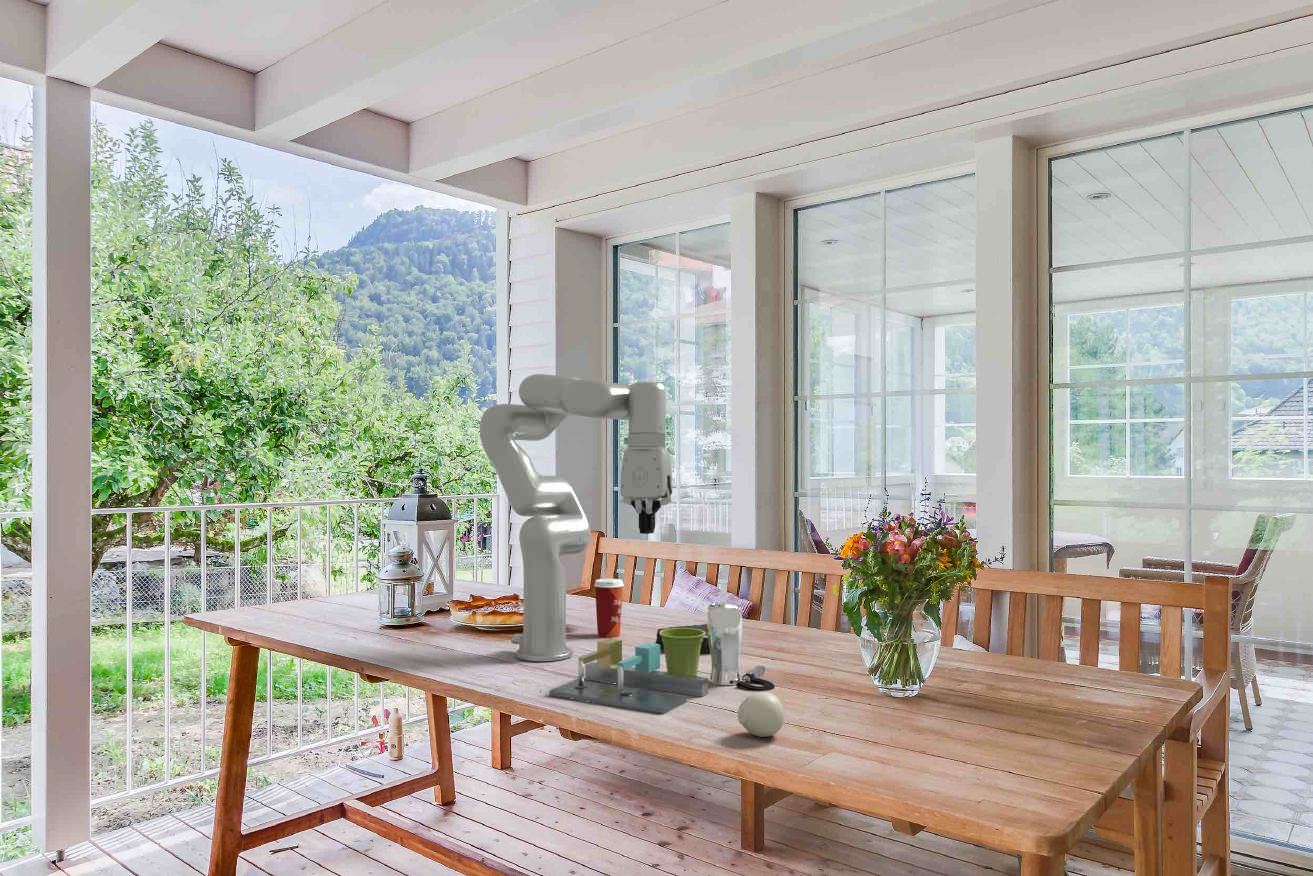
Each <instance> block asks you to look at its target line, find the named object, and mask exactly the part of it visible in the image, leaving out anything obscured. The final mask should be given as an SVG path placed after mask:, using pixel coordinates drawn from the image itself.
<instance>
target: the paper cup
mask: <svg viewBox="0 0 1313 876" xmlns="http://www.w3.org/2000/svg"><path fill="white" fill-rule="evenodd" d="M594 583H595V584H594V585H593V586H594V589H595V590H594V593H595V594H594V595H595V608H596V609H595V611H596V627H597V628H596V629H597V637H598V636H599V638H602V637H605V638H604V639H613V638H612V637H615V638H619V637H620V636H619V635H621V628H622V627H621V624H622V609H623V607H622V606H623V592H624V586H625V584H624V583H623V580H622V579H620V578H600V579H599V578H598V579H596V580H595V581H594ZM618 636H619V637H618Z"/></svg>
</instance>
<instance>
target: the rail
mask: <svg viewBox="0 0 1313 876" xmlns="http://www.w3.org/2000/svg"><path fill="white" fill-rule="evenodd" d="M584 673H585V674H584V680H585V679H588V680H587V681H591V680H595V681H594V682H598V681H601V682H600V683H605V682H609V683H608V684H611V683H616V684H615V685H618V666H617V667H615V668H612V669H604V668H597V662H596V661H592V662H589V663H586V664H584ZM625 685H626V686H625ZM623 686H625V687H631V688H639V687H640V688H639V689H644V690H651V691H659V690H660V691H659V692H665V693H672V692H673V693H672V694H679V693H680V694H679V695H685V696H687V695H688V696H692V697H693V696H695V697H699V696H700V697H701V698H703V697H705V696H706V695H709V678H708V677H705V676H698V675H696V676H691V675H684V674H677V673H669V672H667V671H662V670H661V671H660V670H655V671H652V672H650V673H645V672H638V671H635V667H633V666H632V667H629V668H627V669H624V670H623Z"/></svg>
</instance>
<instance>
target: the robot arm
mask: <svg viewBox="0 0 1313 876" xmlns="http://www.w3.org/2000/svg"><path fill="white" fill-rule="evenodd" d="M518 396H519V398H520V399H519V400H520V401H521V402H522V404H517V403H499V404H495V405H491V406H490V407H489V408H487V409H486V410H484V411H483V414H482V416H481V418H480V423H479V438H480V443H481V446H482V448H483V451H484V452H485V454H486V456H487V458H488V460H489V461H490V463H491V464H492V466H493V467H494V469H495V472H496V474H497V476H498V479H499V482H500V484H501V486H502V488H503V490H504V493H505V495H506V497H507V500H508V502H509V504H510V505H511V508H512V510H513V511H514V513H515V514H517V515H519V516H521V517H530V518H528V519H527V520H525V521H524V522H523V524H522V525H521V527H520V530H519V534H518V537H519V539H518V540H519V546H520V553H521V557H522V558H521V559H522V569H523V602H522V603H523V604H522V605H523V613H522V614H523V615H522V616H523V622H522V623H523V624H522V631H523V633H521V634H520V633H514V635H513V637H512V638H511V640H510V643H511V644H515V645H518V646H519V647H518V648H519V649H517V650H516V651H515V658H518V659H519V660H522V661H529V662H554V661H555V662H557V661H561V660H565V659H568V658H571V657H572V656H573V653H574V652H573V649H572V648H571V647H568V646H566V643H567V642H566V641H567V640H566V639H567V638H566V637H567V636H566V634H567V630H566V629H567V626H566V625H567V624H566V623H567V622H566V621H567V617H566V616H567V578H566V577H567V576H566V571H565V568H564V566H563V564H562V562H561V560H560V557H563V556H572V555H577V554H582V553H583V552H585V551H586V550H587V549H588V548H589V546H590V545H591V541H592V530H591V526H590V523H589V520H588V519H587V516H586V513H585V511H584V509H583V507H582V505H581V503H580V501H579V499H578V496H577V495H576V492H575V491H574V488H573V487H572V485H571V484H570V483H569V482H568V481H567V480H566V479H565V478H563V477H561V476H558V475H542V474H539V472H538V471H537V469H536V468H535V466H534V463H533V462H532V459H531V457H530V456H529V453H527V452H526V451H525V450H524V448H522V447H521V446H520V445H519V444H517V443H516V441H533V442H535V441H538V442H539V441H543V440H544V439H546V438H548V437H549V436H550V435H551V434H552V433H553V432H554V431H555V430H556V429H557V428H558V427H559V426H560V425H561V424H562V423H563V422H564V421H565V420H566V419H567V417H569V416H579V417H580V416H581V417H585V418H586V417H587V418H593V419H604V420H605V419H608V420H609V419H610V420H618V421H628V433H627V437H624V439H623V443H624V445H627V447H628V449H625V450H624V452H623V453H624V454H623V457H622V463H621V471H620V481H619V482H620V485H619V492H620V496H621V497H623V499H622V502H623V503H624V504H626V505H629V506H632V507H633V508H634V510H635V512H636V514H638V529H639V534H640V535H641V534H643V535H644V534H645V535H648V534H649V535H650V534H654V533H655V529H656V514H658V512H659V510H660V509H661V508H662V507H663V506H664V507H665V506H666V505H667V506H668V505H671V504H672V498H671V497H672V494H673V473H672V472H673V471H672V463H671V457H670V452H669V450H668V449H666V423H667V422H666V419H667V417H666V401H667V400H666V387H665V386H664V384H663V383H660V382H657V381H656V382H654V381H639V382H634V383H632V384H631V385H630V384H624V383H617V382H609V381H608V382H607V381H597V380H587V379H581V378H579V377H577V376H568V375H567V376H565V375H558V374H557V375H554V374H546V373H545V374H543V373H536V374H535V373H534V374H531V375H529V376H527V377H525V378H524V379H523V380H522V381H521V382H520V384H519V387H518Z"/></svg>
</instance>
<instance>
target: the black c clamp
mask: <svg viewBox="0 0 1313 876" xmlns="http://www.w3.org/2000/svg"><path fill="white" fill-rule="evenodd" d="M765 672H766V667H765V666H764V665H757V666H755V667H754V668H752V669H751V670H747V671H746V672H745V674H744V675H742V677H741V680H740V681H739V682H738V683H737V684H736V685H735V686H736V688H738V689H741V688H742V689H744V690H747V691H750V692H751V691H752V692H766V691H767V692H768V691H772V690H774V689H775V687H776V686H775V684H774V683H773V682H771V681H769V680H766V679H762V678H761V677H762V676H764V675H765ZM763 674H764V675H763ZM760 676H761V677H760ZM752 683H753V684H756V685H753V684H752ZM760 684H762V685H760ZM763 685H764V686H763Z"/></svg>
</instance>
